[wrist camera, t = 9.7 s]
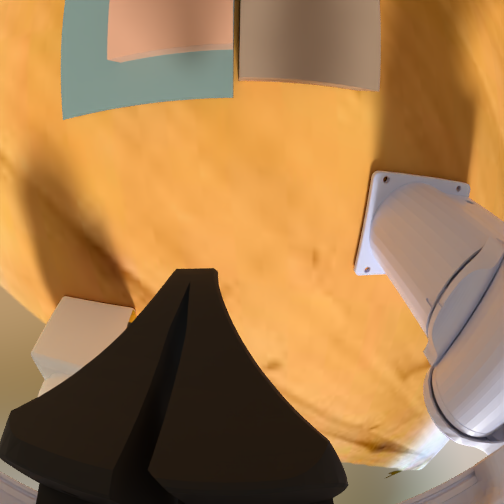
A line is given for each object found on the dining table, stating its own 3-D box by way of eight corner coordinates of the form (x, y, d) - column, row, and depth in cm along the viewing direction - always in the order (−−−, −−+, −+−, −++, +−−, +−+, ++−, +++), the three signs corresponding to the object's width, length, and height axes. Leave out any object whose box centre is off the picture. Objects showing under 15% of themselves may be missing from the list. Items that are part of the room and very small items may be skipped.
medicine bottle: (144, 359, 25) (122, 471, 15) (80, 346, 24) (44, 446, 14) (136, 306, 22) (96, 441, 11) (62, 293, 21) (4, 406, 10)
